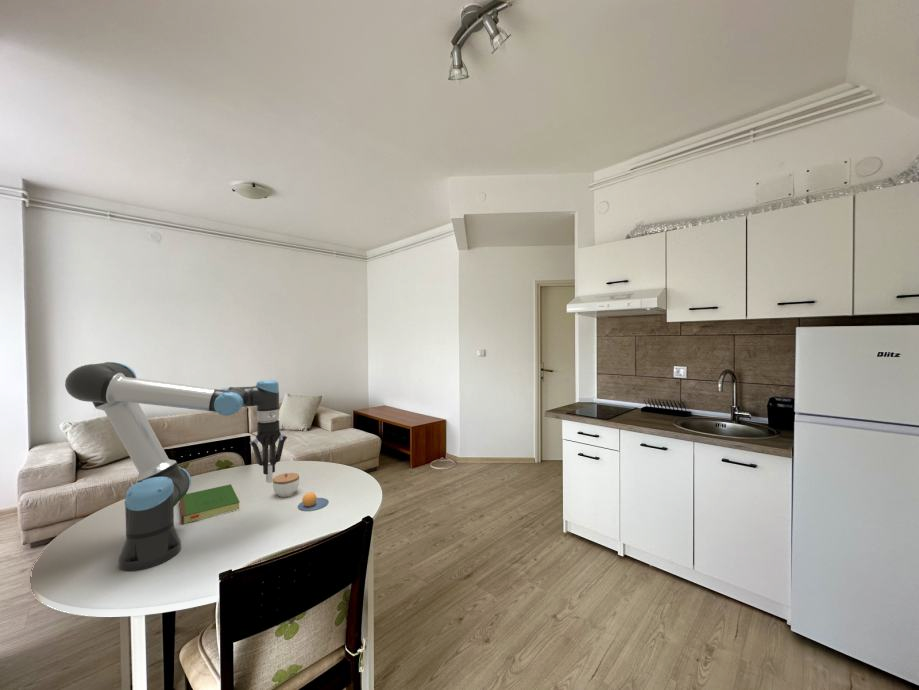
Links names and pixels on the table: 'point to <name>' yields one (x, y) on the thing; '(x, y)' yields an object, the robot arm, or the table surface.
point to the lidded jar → (286, 484)
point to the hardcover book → (208, 503)
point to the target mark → (318, 505)
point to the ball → (309, 499)
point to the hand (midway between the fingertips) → (269, 481)
